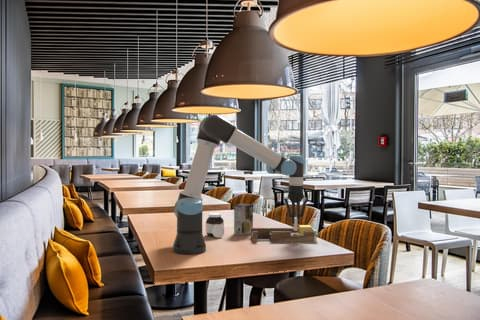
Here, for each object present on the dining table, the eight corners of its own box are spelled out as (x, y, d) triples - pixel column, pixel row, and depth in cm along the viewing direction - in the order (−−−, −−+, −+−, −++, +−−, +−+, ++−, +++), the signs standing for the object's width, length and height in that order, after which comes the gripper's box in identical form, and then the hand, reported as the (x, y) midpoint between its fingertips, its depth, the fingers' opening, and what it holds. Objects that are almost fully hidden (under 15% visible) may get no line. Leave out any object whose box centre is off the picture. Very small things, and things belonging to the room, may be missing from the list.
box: (316, 241, 208) (316, 230, 208) (252, 241, 206) (252, 230, 206) (311, 237, 218) (312, 227, 218) (251, 237, 217) (251, 226, 217)
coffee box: (245, 231, 232) (245, 203, 231) (253, 233, 227) (253, 204, 227) (233, 233, 225) (233, 204, 225) (241, 235, 221) (241, 205, 220)
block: (311, 234, 211) (312, 226, 210) (300, 234, 210) (300, 226, 210) (309, 232, 216) (309, 225, 215) (298, 232, 215) (298, 225, 215)
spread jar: (215, 232, 228) (215, 212, 227) (231, 235, 221) (231, 214, 221) (200, 236, 218) (201, 214, 218) (217, 239, 211) (217, 216, 211)
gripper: (306, 184, 216) (306, 228, 217) (282, 184, 215) (281, 228, 216) (310, 185, 209) (309, 231, 209) (284, 185, 208) (284, 231, 209)
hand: (295, 230), depth 213 cm, fingers closed
